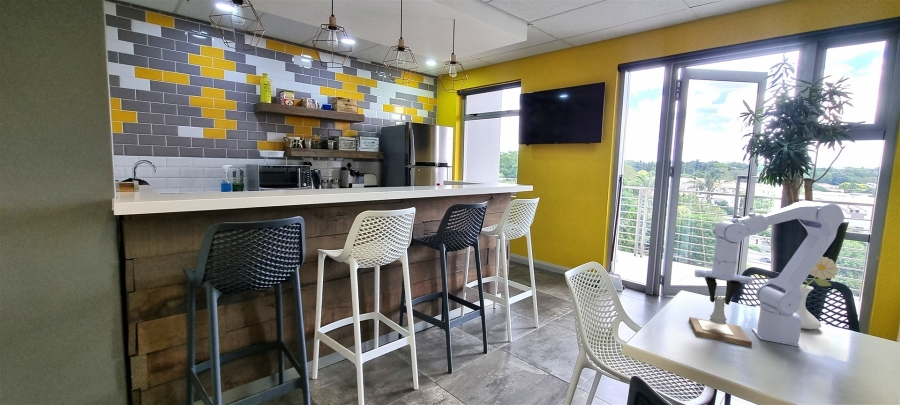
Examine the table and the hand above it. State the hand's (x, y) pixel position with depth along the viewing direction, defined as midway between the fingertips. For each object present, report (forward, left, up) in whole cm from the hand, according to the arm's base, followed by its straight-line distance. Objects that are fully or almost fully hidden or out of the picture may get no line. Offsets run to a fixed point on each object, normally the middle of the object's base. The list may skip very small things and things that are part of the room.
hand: (719, 302), depth 117 cm
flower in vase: (-29, -22, -10) cm, 38 cm away
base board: (-1, 0, -10) cm, 10 cm away
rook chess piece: (0, +1, -6) cm, 6 cm away
